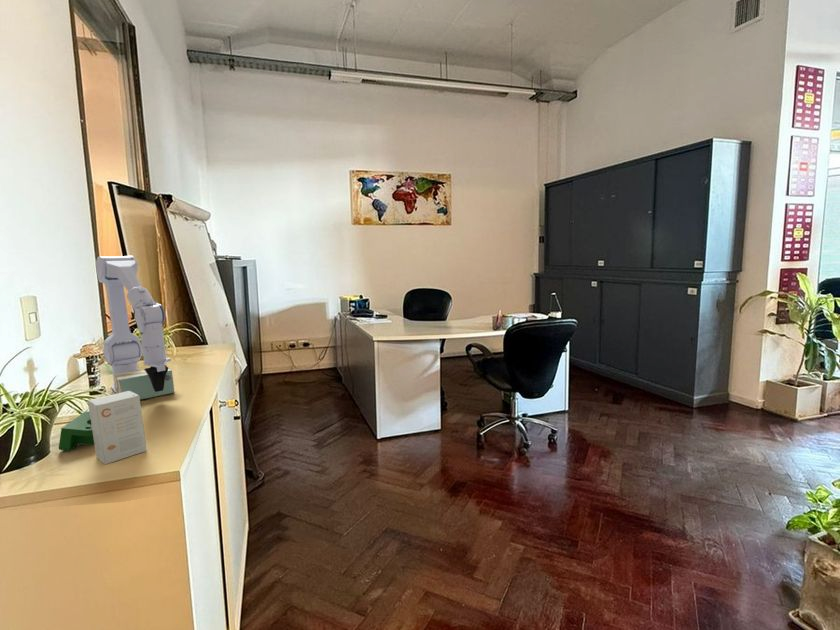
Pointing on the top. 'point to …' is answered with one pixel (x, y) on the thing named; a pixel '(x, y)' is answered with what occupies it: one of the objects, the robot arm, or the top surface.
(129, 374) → the cabinet
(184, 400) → the top surface
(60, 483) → the top surface
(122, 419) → the small box
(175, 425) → the top surface
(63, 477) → the top surface
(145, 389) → the door
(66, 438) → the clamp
